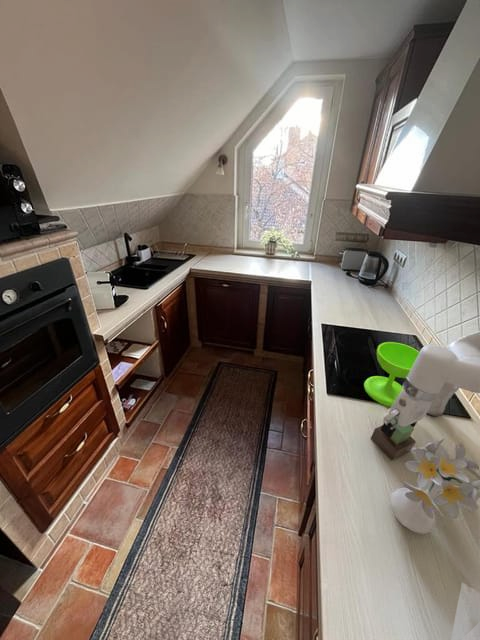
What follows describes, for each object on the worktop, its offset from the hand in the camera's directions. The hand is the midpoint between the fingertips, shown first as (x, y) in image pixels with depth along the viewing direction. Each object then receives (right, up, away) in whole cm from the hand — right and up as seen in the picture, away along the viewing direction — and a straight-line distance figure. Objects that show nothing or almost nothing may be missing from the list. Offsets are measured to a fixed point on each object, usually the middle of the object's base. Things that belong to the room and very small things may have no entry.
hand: (397, 428), depth 76 cm
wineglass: (+10, +4, +24) cm, 26 cm away
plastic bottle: (+22, -1, +16) cm, 27 cm away
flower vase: (-6, -17, -13) cm, 22 cm away
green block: (0, -3, +1) cm, 3 cm away
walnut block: (0, -7, +4) cm, 8 cm away
